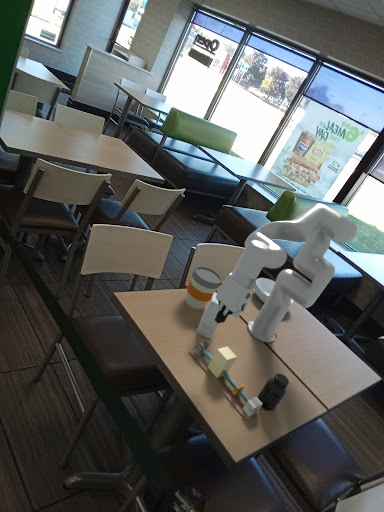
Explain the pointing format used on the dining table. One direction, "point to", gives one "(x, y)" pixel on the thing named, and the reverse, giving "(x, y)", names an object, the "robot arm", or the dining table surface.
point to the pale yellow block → (222, 361)
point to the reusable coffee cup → (202, 287)
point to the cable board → (227, 384)
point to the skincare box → (209, 318)
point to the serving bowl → (265, 288)
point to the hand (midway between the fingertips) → (218, 321)
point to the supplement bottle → (273, 392)
